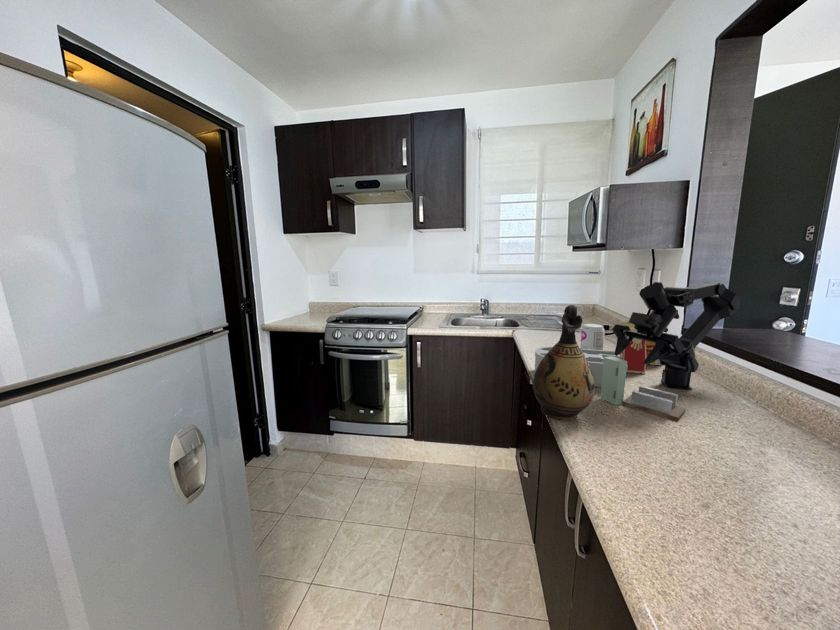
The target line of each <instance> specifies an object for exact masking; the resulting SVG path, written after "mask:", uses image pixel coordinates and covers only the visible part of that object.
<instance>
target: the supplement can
mask: <svg viewBox="0 0 840 630" xmlns="http://www.w3.org/2000/svg"><path fill="white" fill-rule="evenodd" d="M605 331H606V330H605V328H604V325H602V324H598V323H597V324H596V323H584V324H583V325H582V326H581V334H580V335H581V336H580V345H579V348H580V349H591V350H604V343H605Z"/></svg>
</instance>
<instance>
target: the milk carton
mask: <svg viewBox="0 0 840 630" xmlns="http://www.w3.org/2000/svg"><path fill="white" fill-rule="evenodd" d="M620 323H621V325H626V326H629V328H630V329H631V331H634V332H637V329H635V328H634V326H635V325H634V324H632V323H629V320H624V321H620ZM619 355H620V359H622V360H625V361H627V365H628V368H627V371H626V373H631V372H634V373H633V374H640V373H642V374H641V375H646V369H647V365H646V364H645V363H644V361H645V359H646V358H647V356H646V341H645V340H641V339H636V338H633V340H632V341H630V344H629V345H628V346H627V347H626V348H625V349H624V350H623V351H622V352H621V353H620V354H619Z"/></svg>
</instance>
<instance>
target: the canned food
mask: <svg viewBox="0 0 840 630" xmlns="http://www.w3.org/2000/svg"><path fill="white" fill-rule="evenodd" d="M654 347H655V343H653V342H649V341H646V356H648V355H649V354H650V352H651V351H652V350H653V348H654ZM649 364H650V365H649V366H654V365H660V359H658V360H656V361H654V362H652V363H649Z"/></svg>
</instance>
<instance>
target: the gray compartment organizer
mask: <svg viewBox="0 0 840 630" xmlns="http://www.w3.org/2000/svg"><path fill="white" fill-rule="evenodd" d="M552 347H553V346H543V347H542V346H541V347H538V348H536V349H535V350H534V357H535V358H534V361H535V362H534V373H535V372H536V369H537V367H538V365H539V363H540V362H541V360H542V359H543V358H544V356H545V355H546V354H547V353H548V351H549V350H551V349H552ZM580 350H581V351H582V353H583V354H584V356H585V358H586V360H587V362H588V364H589V365H590V368H591V371H592V374H593V377H594V386H597V387H596V388H601V387H602V376H603V365H604V357H610V356H612V357H615V358H619V359H620V355H618V356H616V355H615V354H614V353H615V350H604V349H603V350H591V349H580ZM627 368H628V365H627ZM627 368H626V371H627ZM626 379H627V378H625V381H626Z"/></svg>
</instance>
